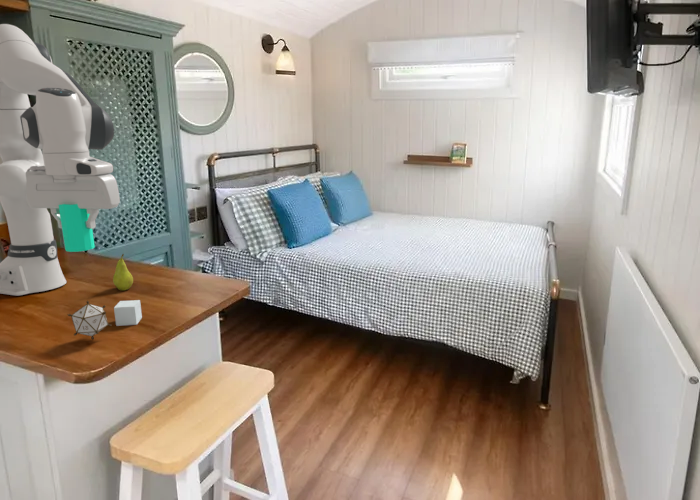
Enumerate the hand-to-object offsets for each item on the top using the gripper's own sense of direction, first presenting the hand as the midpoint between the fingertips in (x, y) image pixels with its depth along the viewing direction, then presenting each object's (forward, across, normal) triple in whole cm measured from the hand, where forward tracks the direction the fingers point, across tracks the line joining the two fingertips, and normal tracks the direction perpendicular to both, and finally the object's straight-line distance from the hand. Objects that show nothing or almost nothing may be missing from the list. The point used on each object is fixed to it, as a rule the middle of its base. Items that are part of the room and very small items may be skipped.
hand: (77, 228), depth 110 cm
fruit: (+27, -14, +36) cm, 47 cm away
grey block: (+27, +2, +12) cm, 30 cm away
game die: (+27, 0, 0) cm, 27 cm away
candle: (+5, 0, 0) cm, 5 cm away
